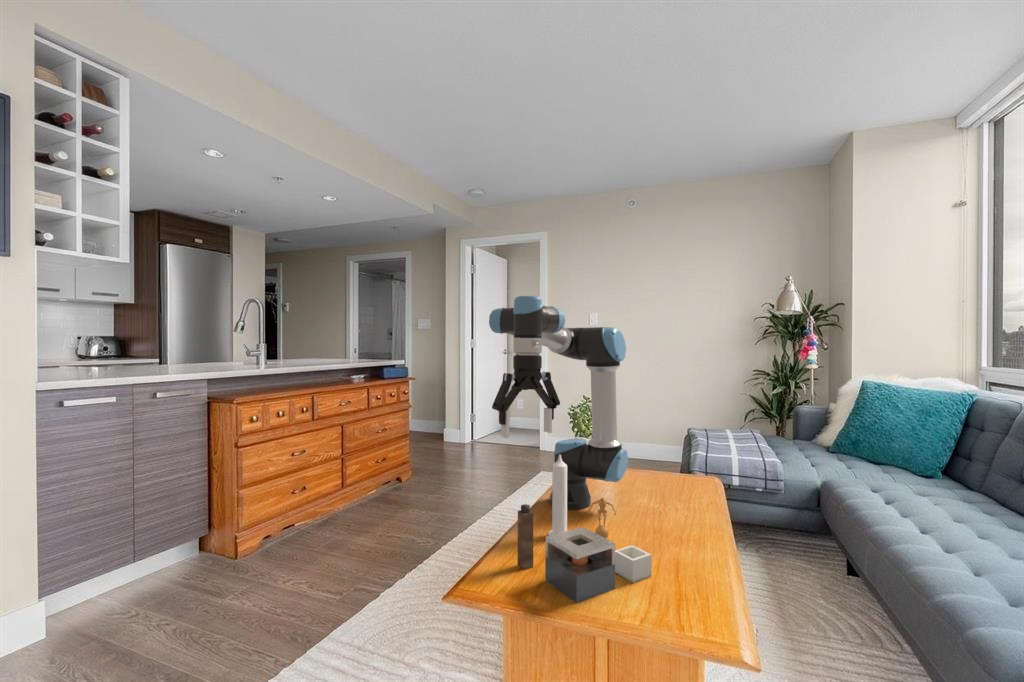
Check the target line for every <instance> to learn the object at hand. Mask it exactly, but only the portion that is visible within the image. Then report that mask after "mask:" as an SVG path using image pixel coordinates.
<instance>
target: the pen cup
mask: <svg viewBox="0 0 1024 682" xmlns="http://www.w3.org/2000/svg"><path fill="white" fill-rule="evenodd" d="M616 574H617V575H618V576H620V577H622V578H623V579H625V580H626V581H628V582H630V583H632V584H634V583H637V582H639V581H643V580H645V579H648V578H650V577H652V554H651V553H649V552H646V551H645V550H644V549H641V548H639V547H637V546H635V545H633V544H632V545H629V546H628V545H627V546H625V547H622V548H619V549H615V575H616Z"/></svg>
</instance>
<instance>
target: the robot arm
mask: <svg viewBox="0 0 1024 682" xmlns="http://www.w3.org/2000/svg"><path fill="white" fill-rule="evenodd" d="M513 301H514V302H513V307H500V308H494V309H492V311H491V312H490V314H489V317H488V324H489V327H490V330H491V331H492V332H493V333H495V334H501V335H503V334H508V335H511V336H513V348H512V349H513V351H512V353H514V354H515V355H513V356H512V361H513V367H512V368H513V371H514V372H513V373H508V372H507V373H506V372H505V373H503V375H502V381H501V385H500V386H499V388H498V391H497V393H496V396H495V399H494V401H493V403H492V406H491V409H492V410H494V411H498V424H499V425H501V426H500V429H501V430H500V434H501V437H503V438H505V439H510V412H509V411H508V410H509V408H510V407H511V405H512V404H513V402H514V401H515V399H516V398H517V396H518V395H519V394H520V392H523V391H529V390H532V391H533V390H534V391H535V393H536V394H537V396H538V397H539V398H540V400H541V401H542V402H543V403H544V405H545V406H546V407H543V432H544V433H548V434H551V433H552V434H553V420H554V418H555V416H554V415H555V409H557V406H560V405H561V401H560V398H559V396H558V393H557V392H556V391H557V390H556V389H555V386H554V383H553V381H552V375H551V374H552V373H551V372H549V371H542V372H541V369H542V365H543V364H542V363H543V361H542V359H543V358H542V355H540V354H542V353H543V352H542V346H543V347H545V348H548V349H549V350H550V351H551V352H552V353H555V354H557V355H559V356H563V357H565V358H569V359H572V360H578V361H585V364H586V365H585V366H586V368H587V369H589V371H590V388H591V389H590V390H591V393H590V394H591V400H590V401H591V428H592V430H591V432H592V433H591V435H592V437H591V438H590V439H589V440H588V442H587V440H586V439H585V438H568V439H563V440H559V441H557V442H556V443H555V445H554V452H553V455H554V456H553V457H554V459H553V461H554V463H556V462H557V460H558V457H559V454H560V455H561V458H562V461H563V462H564V463H565V464H566V465H567V510H581V509H585V508H588V507H589V506H590V507H591V505H592V498H591V494H590V489H589V488H588V484H587V479H592V480H593V479H594V480H596V481H597V480H599V481H602V482H603V481H604V482H606V483H608V482H610V483H619V482H620V481H621V480H622V479H623V478H624V476H625V474H626V471H627V468H628V464H629V463H628V462H629V453H628V451H627V449H625V448H622V446H623V445H622V443H623V442H622V441H621V440H620V439H619V438H618V426H617V423H618V421H617V420H618V419H617V417H618V415H617V413H618V412H617V377H616V375H617V373H616V371H617V369H618V368H619V367H620V366H621V362H622V361H624V360H625V358H626V352H627V349H626V347H627V346H626V341H625V337H624V335H623V333H622V331H621V330H620V329H619V328H616V327H609V326H600V327H597V326H596V327H595V326H594V327H565V325H566V324H565V323H566V316H565V314H564V312H563V310H561V309H560V308H559V307H555V306H549V305H548V306H546V305H543V300H542V297H541V296H538V295H537V296H536V295H519V296H516V297H515V298H514V300H513ZM541 380H542V383H543V384H542V383H541ZM513 381H514V383H513V384H512V382H513ZM511 385H512V386H511ZM543 385H544V386H543ZM510 388H511V389H510ZM549 503H550V504H551V505H552V491H551V492H550V494H549Z"/></svg>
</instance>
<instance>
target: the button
mask: <svg viewBox="0 0 1024 682" xmlns="http://www.w3.org/2000/svg"><path fill="white" fill-rule="evenodd" d="M578 546H580V545H578ZM572 563H573V564H575V565H576V566H578V567H580V566H583V565H586V564H588V556H586V557H582V558H579V559H575V558H574V557H572Z"/></svg>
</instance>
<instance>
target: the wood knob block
mask: <svg viewBox="0 0 1024 682" xmlns="http://www.w3.org/2000/svg"><path fill="white" fill-rule="evenodd" d="M516 562H517V567H519V568H520V569H521V570H523V571H525V570H529V569H531V568H534V512H533V511H532V510H531V505H530V504H521V505H520V509H519V510H517V561H516Z"/></svg>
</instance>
